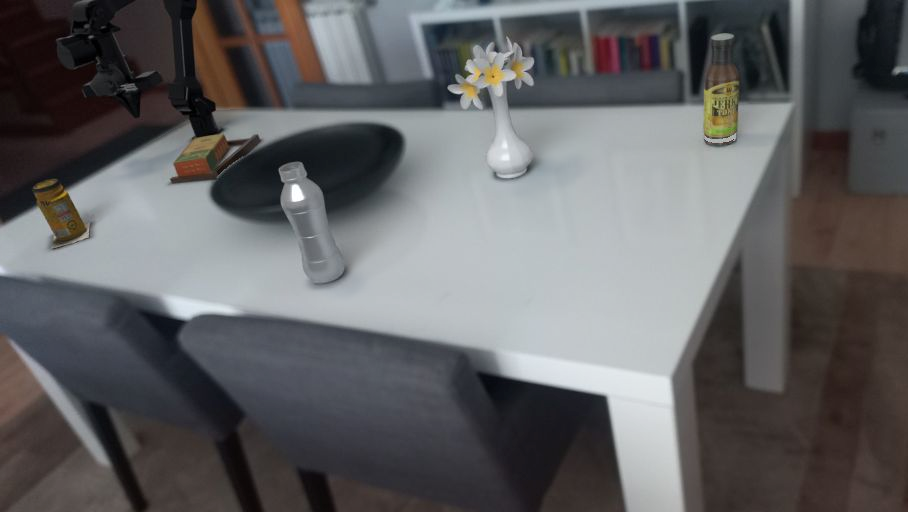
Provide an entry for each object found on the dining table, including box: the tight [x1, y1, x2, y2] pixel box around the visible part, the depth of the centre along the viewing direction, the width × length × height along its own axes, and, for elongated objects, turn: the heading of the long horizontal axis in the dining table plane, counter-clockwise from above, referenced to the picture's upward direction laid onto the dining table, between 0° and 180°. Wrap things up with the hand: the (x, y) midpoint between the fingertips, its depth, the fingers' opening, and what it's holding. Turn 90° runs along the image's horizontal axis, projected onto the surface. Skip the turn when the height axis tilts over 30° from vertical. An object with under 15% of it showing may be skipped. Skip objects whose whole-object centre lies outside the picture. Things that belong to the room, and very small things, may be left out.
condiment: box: [31, 178, 91, 249], centre depth 151 cm, size 7×8×12 cm
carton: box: [172, 133, 230, 176], centre depth 179 cm, size 8×16×4 cm, turn 2°
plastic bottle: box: [278, 161, 346, 284], centre depth 115 cm, size 6×7×20 cm
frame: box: [169, 133, 261, 184], centre depth 179 cm, size 22×13×2 cm, turn 171°
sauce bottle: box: [702, 32, 740, 147], centre depth 134 cm, size 6×6×20 cm
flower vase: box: [447, 35, 535, 179], centre depth 137 cm, size 13×18×25 cm
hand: (137, 117), depth 182 cm, fingers closed
